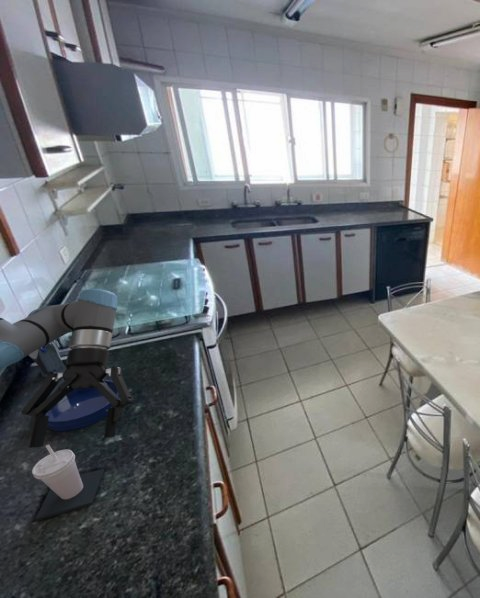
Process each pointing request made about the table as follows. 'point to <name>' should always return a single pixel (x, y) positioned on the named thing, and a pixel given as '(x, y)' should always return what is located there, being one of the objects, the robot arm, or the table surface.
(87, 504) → the mat
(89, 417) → the bowl
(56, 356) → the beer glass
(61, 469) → the smoothie
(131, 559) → the table surface
